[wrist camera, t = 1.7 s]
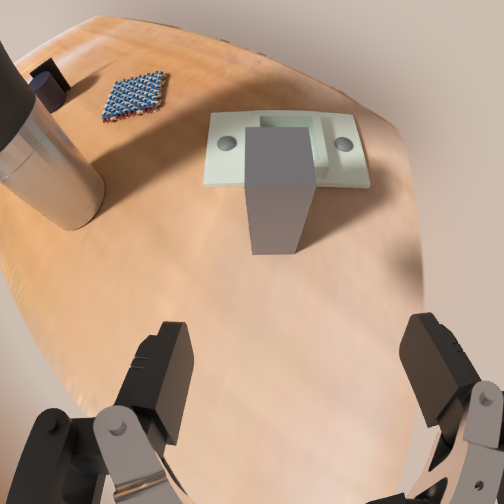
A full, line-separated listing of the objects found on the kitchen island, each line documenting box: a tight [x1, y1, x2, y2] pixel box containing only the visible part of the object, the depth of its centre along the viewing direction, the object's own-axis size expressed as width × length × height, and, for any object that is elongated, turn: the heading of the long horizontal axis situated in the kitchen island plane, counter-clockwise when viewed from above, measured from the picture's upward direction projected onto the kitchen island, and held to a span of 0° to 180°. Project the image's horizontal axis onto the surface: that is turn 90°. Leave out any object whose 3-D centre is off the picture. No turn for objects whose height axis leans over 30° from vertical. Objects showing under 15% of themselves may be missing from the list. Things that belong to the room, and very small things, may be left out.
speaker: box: [29, 58, 71, 113], centre depth 38 cm, size 8×6×10 cm
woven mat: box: [101, 71, 166, 124], centre depth 39 cm, size 10×11×2 cm
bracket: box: [203, 110, 371, 189], centre depth 33 cm, size 20×12×4 cm, turn 90°
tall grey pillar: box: [244, 127, 317, 255], centre depth 25 cm, size 4×5×14 cm
